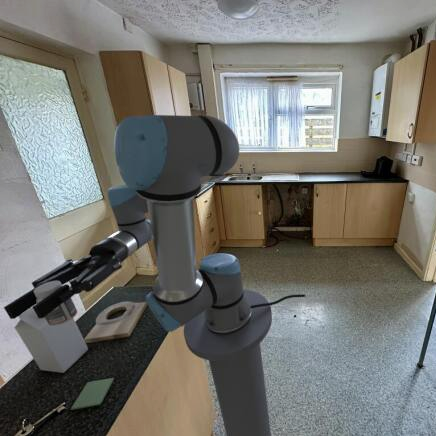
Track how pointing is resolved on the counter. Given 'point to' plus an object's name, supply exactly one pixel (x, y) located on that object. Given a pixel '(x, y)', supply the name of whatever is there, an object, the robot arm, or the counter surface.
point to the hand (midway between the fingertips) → (23, 312)
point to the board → (116, 322)
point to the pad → (93, 393)
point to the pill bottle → (62, 311)
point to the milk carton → (51, 341)
